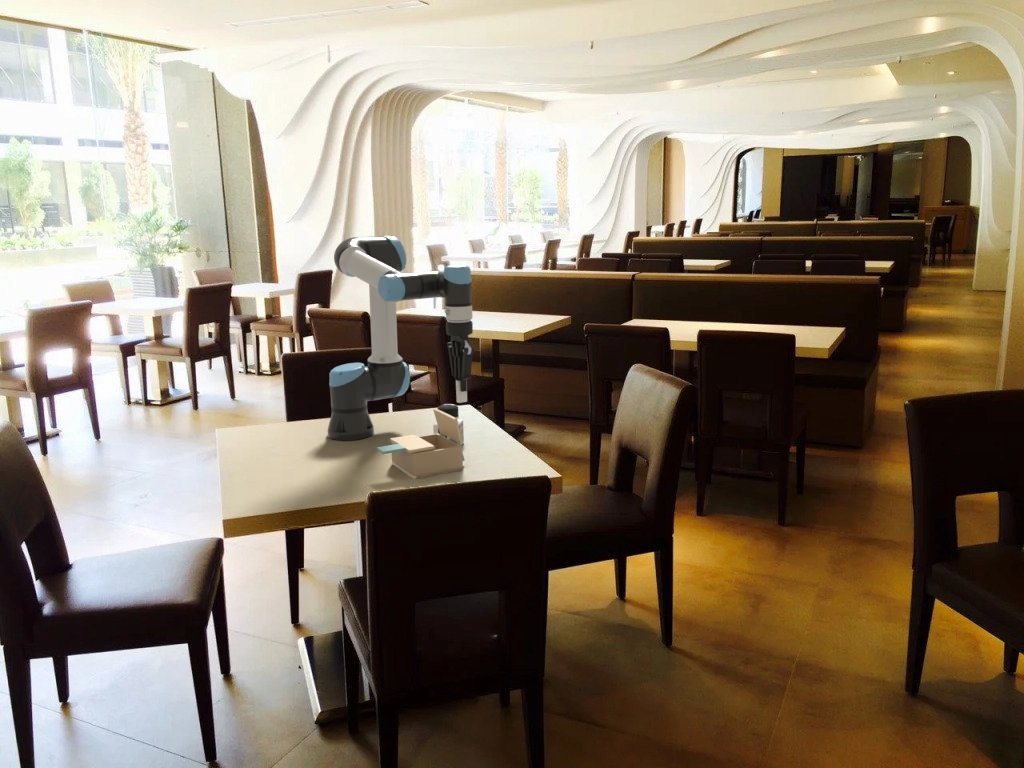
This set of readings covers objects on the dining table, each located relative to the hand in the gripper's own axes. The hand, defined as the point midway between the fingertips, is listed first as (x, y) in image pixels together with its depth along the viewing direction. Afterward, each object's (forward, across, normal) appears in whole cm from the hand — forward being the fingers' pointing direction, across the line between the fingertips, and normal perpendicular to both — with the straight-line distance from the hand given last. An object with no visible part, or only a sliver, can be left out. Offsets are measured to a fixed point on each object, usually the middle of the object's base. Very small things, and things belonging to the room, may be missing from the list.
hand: (461, 401), depth 236 cm
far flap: (+11, -2, -3) cm, 11 cm away
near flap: (+11, -2, -19) cm, 22 cm away
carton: (+18, -2, -11) cm, 21 cm away
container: (+19, -18, +4) cm, 26 cm away
